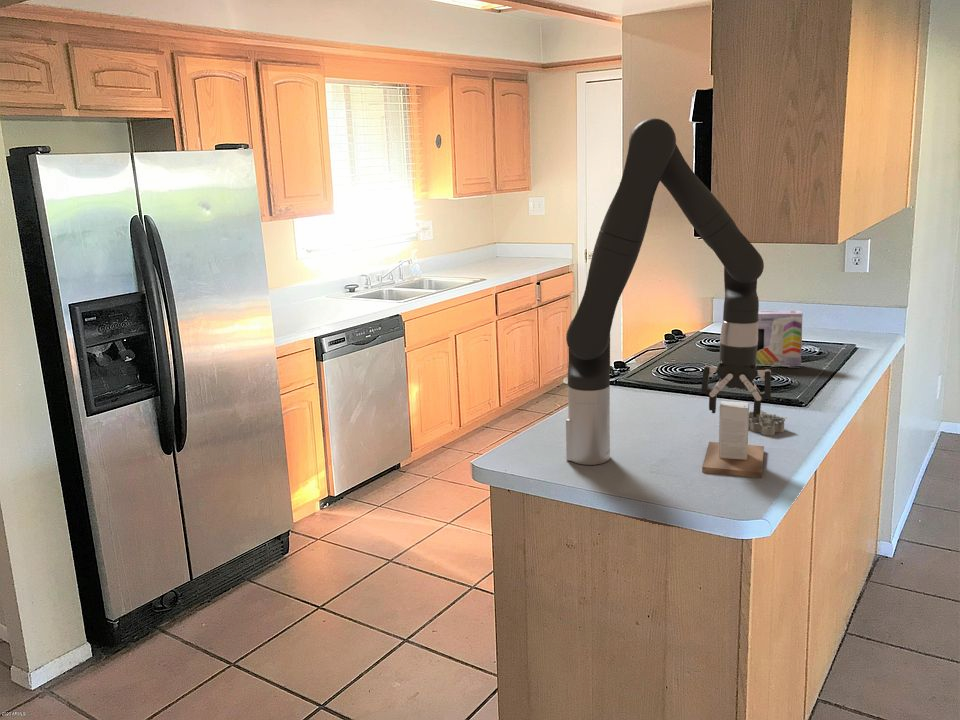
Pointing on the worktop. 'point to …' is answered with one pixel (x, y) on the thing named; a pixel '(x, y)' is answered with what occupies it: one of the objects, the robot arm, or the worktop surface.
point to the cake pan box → (779, 337)
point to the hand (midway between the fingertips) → (734, 414)
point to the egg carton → (766, 423)
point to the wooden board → (734, 462)
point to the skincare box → (733, 430)
